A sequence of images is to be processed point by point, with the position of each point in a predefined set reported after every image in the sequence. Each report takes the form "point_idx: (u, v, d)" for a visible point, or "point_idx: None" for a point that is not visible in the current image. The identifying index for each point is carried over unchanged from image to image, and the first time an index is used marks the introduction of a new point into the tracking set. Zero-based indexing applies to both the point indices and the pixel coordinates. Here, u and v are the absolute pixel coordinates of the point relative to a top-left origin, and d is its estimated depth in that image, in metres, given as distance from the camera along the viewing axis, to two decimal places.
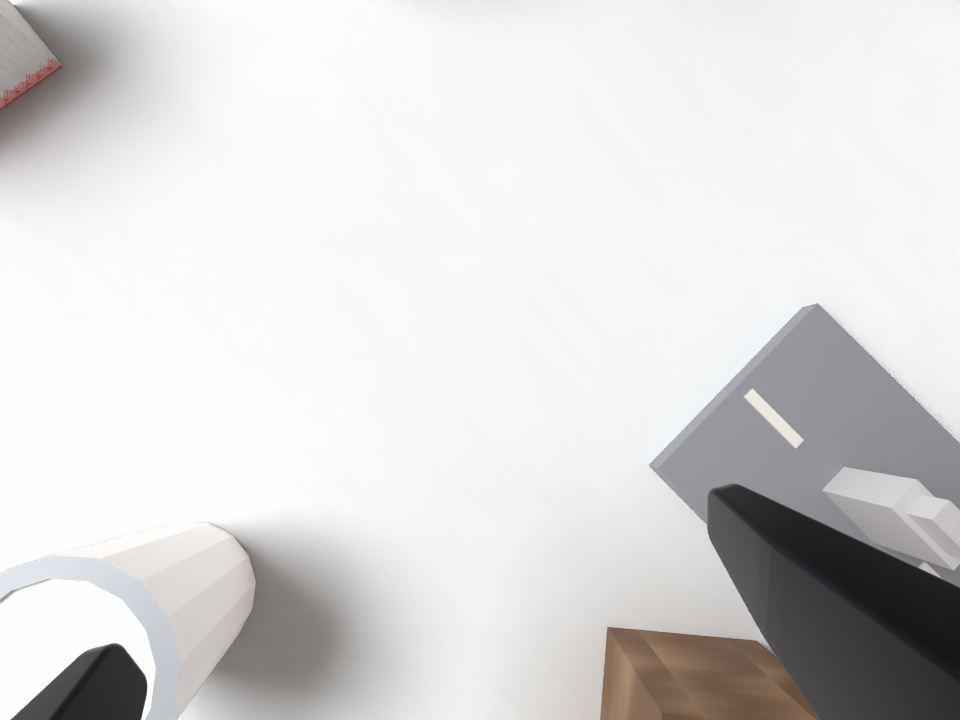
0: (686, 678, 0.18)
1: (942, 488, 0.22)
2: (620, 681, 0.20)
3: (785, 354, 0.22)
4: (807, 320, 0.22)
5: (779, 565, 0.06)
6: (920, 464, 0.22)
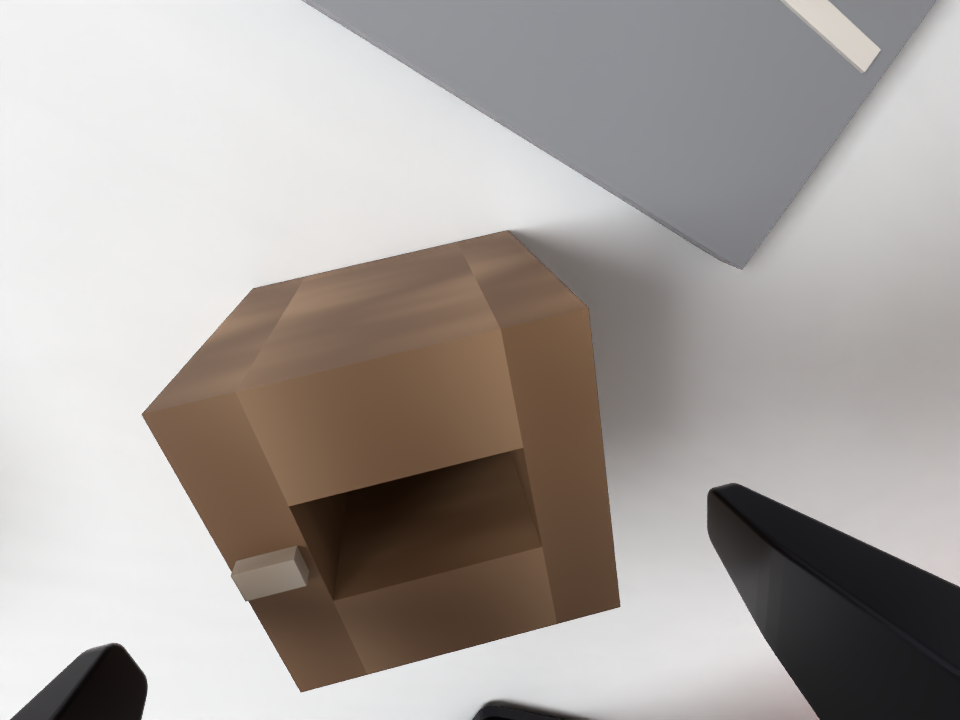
0: (296, 327, 0.09)
1: None
2: None
3: None
4: None
5: (779, 565, 0.06)
6: None
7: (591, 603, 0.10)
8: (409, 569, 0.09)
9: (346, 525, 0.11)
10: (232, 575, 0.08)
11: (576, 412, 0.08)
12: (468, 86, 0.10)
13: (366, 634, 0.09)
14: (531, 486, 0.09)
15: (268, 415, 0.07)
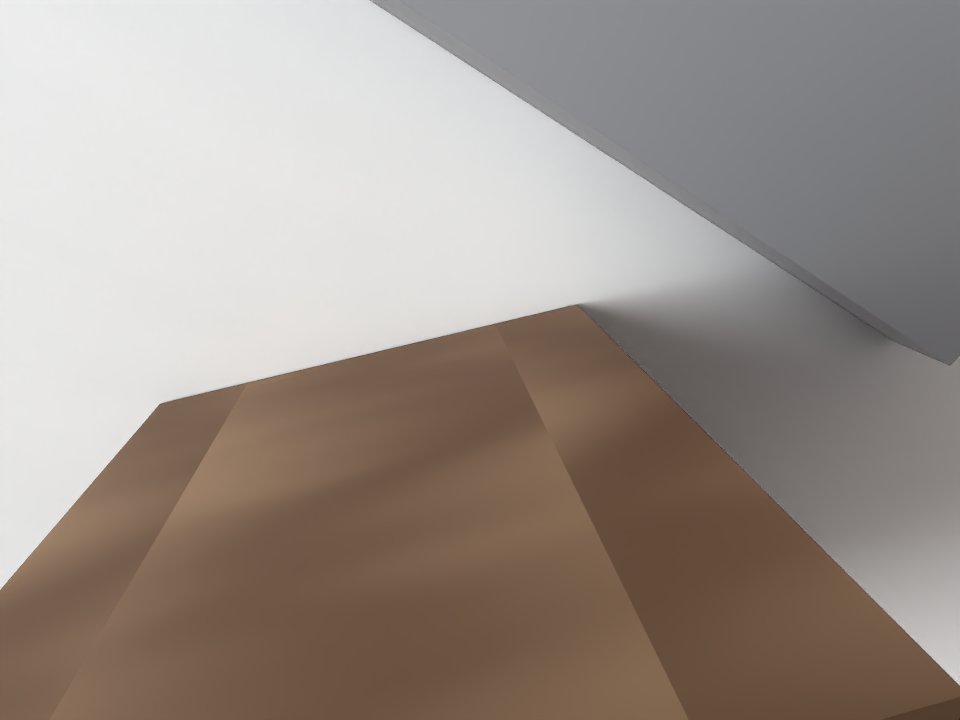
0: (183, 571, 0.04)
1: None
2: None
3: None
4: None
5: None
6: None
7: None
8: None
9: None
10: None
11: None
12: (531, 65, 0.06)
13: None
14: None
15: None
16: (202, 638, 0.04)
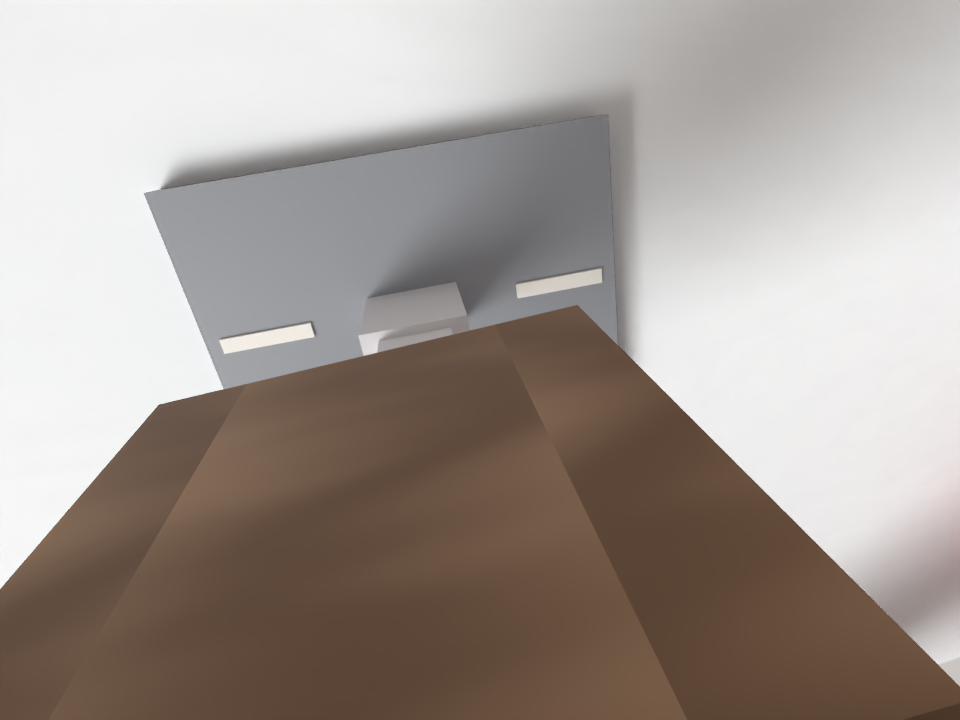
0: (180, 573, 0.04)
1: (461, 207, 0.16)
2: None
3: (196, 276, 0.16)
4: (162, 221, 0.15)
5: None
6: (419, 212, 0.16)
7: None
8: None
9: None
10: None
11: None
12: None
13: None
14: None
15: None
16: (200, 641, 0.04)
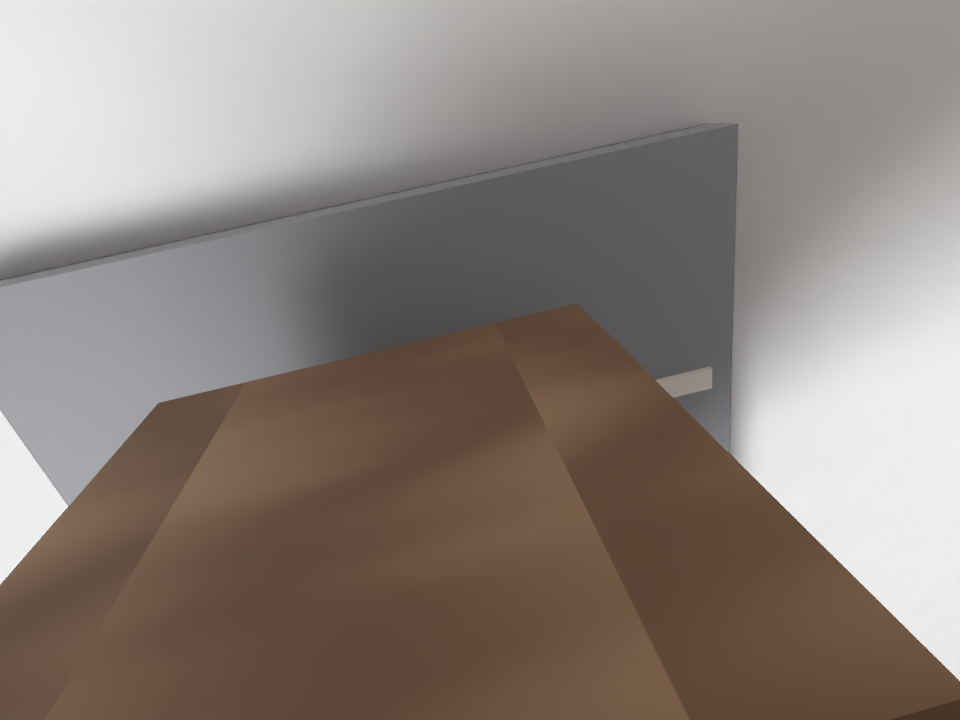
0: (179, 571, 0.04)
1: (487, 290, 0.10)
2: None
3: (47, 428, 0.10)
4: None
5: None
6: (416, 303, 0.10)
7: None
8: None
9: None
10: None
11: None
12: None
13: None
14: None
15: None
16: (199, 638, 0.04)
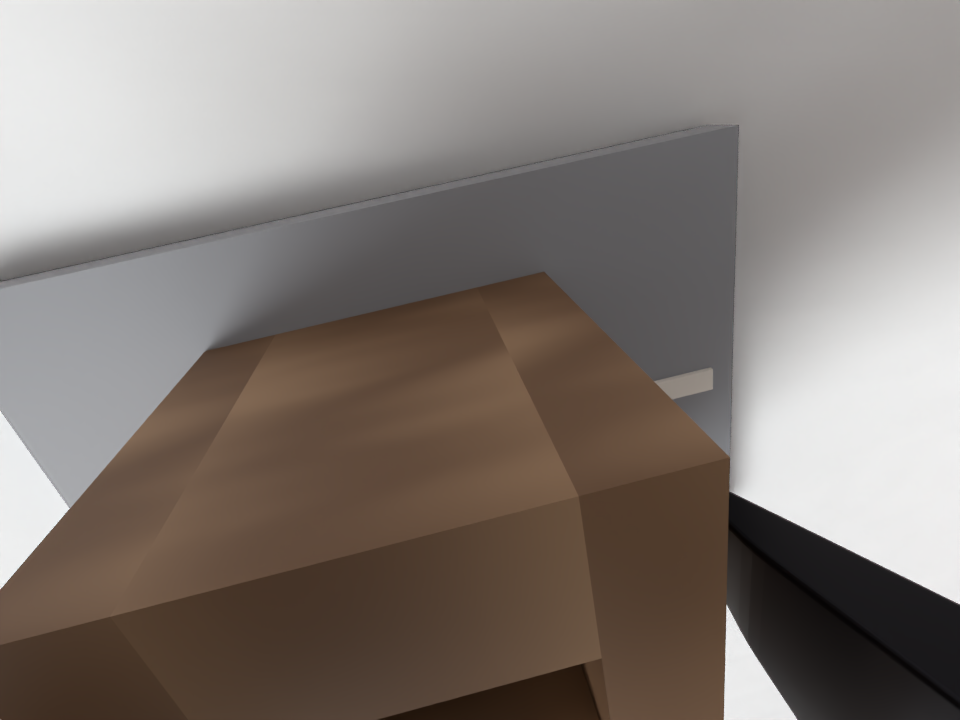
0: (245, 442, 0.06)
1: None
2: None
3: (48, 429, 0.10)
4: None
5: (759, 570, 0.06)
6: None
7: None
8: None
9: None
10: None
11: (690, 606, 0.05)
12: None
13: None
14: (608, 704, 0.05)
15: (174, 646, 0.04)
16: (266, 471, 0.05)
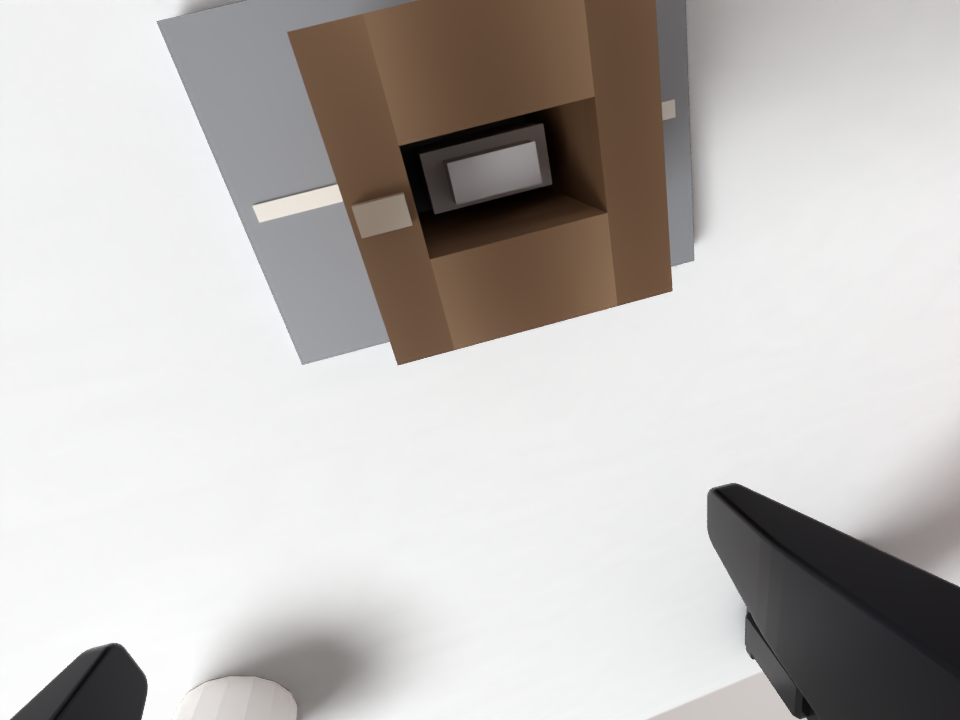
0: None
1: None
2: None
3: (222, 127, 0.14)
4: (180, 58, 0.13)
5: (779, 565, 0.06)
6: None
7: (647, 284, 0.11)
8: (492, 239, 0.11)
9: (427, 239, 0.12)
10: (352, 208, 0.10)
11: (640, 60, 0.10)
12: None
13: (456, 301, 0.11)
14: (600, 143, 0.10)
15: (388, 41, 0.09)
16: None
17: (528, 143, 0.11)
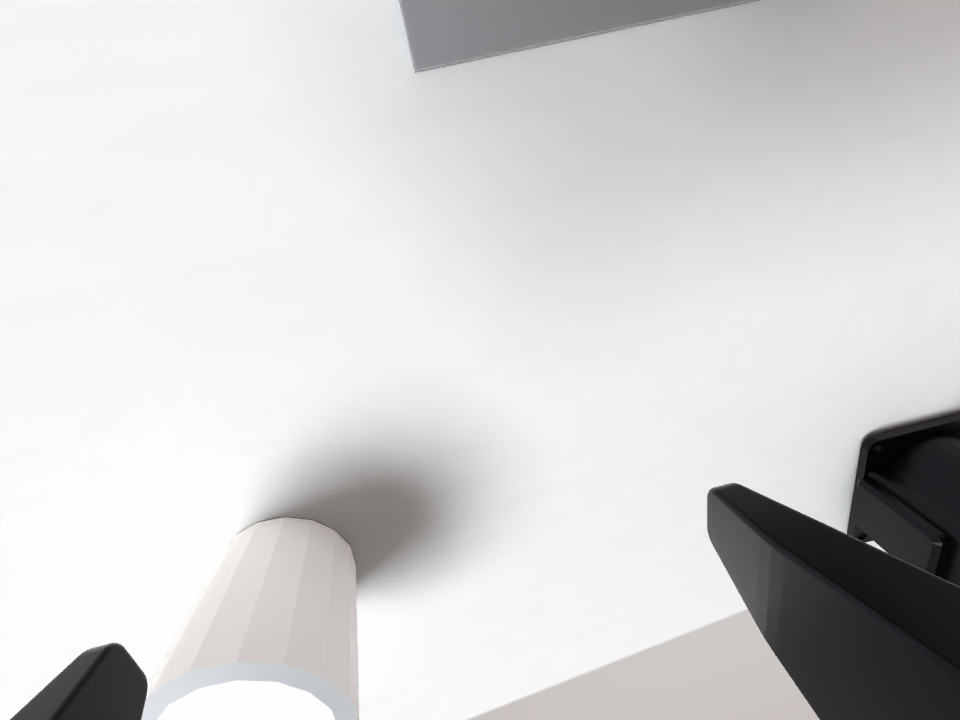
0: None
1: None
2: None
3: None
4: None
5: (779, 565, 0.06)
6: None
7: None
8: None
9: None
10: None
11: None
12: (617, 19, 0.15)
13: None
14: None
15: None
16: None
17: None
